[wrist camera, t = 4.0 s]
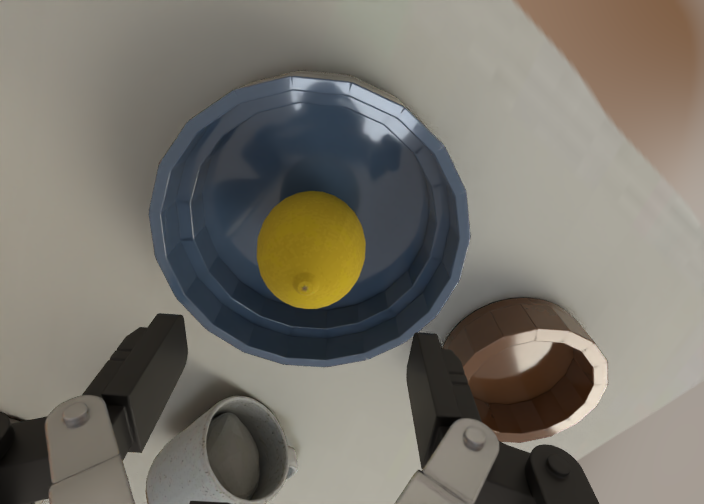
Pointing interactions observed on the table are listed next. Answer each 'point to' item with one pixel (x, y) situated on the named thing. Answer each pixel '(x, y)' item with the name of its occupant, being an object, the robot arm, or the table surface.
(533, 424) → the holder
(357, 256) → the lemon
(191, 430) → the ceramic mug
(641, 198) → the table surface
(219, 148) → the bowl
